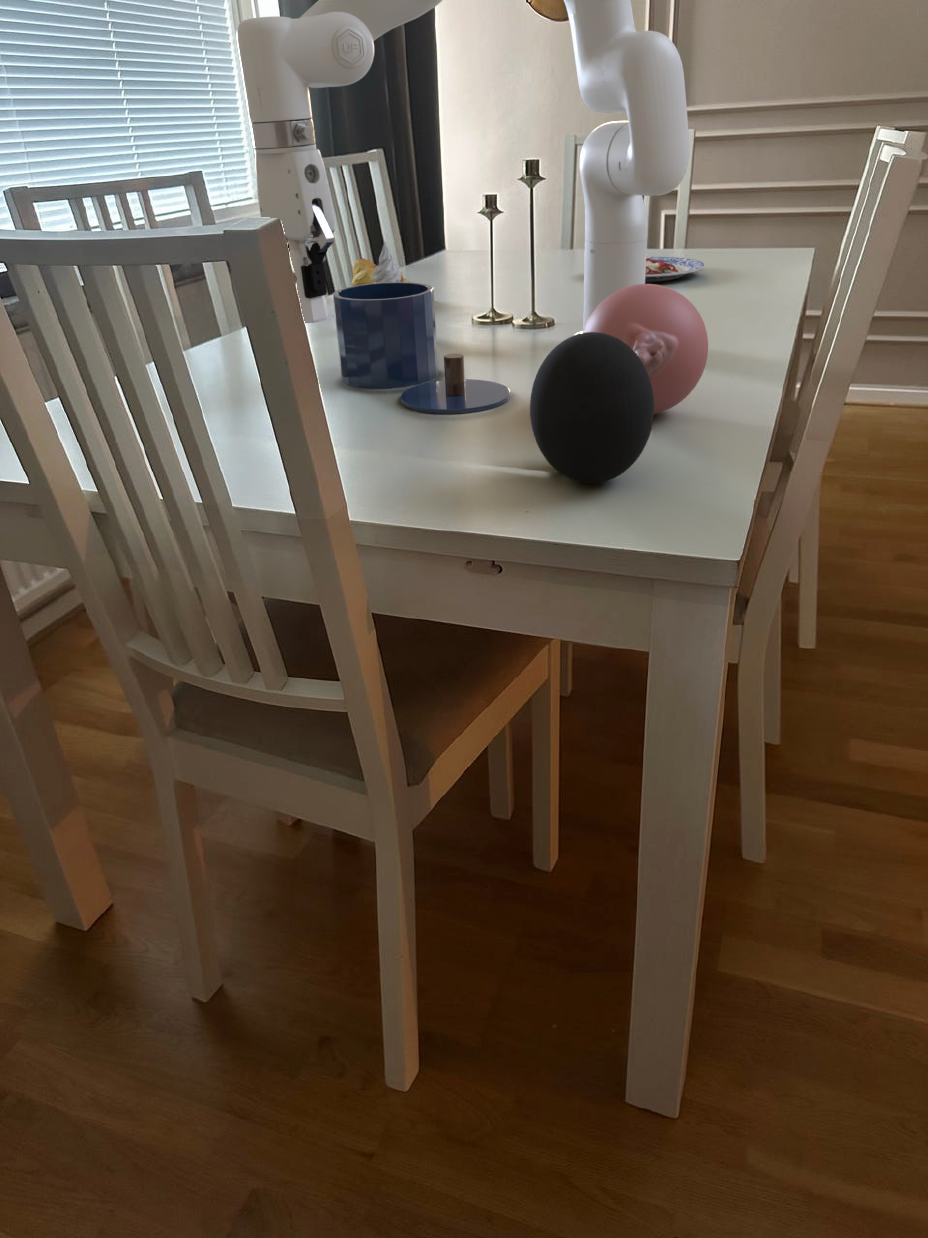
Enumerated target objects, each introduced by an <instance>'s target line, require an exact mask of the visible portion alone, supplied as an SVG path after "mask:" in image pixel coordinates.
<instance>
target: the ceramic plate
mask: <svg viewBox="0 0 928 1238" xmlns="http://www.w3.org/2000/svg"><path fill="white" fill-rule="evenodd" d="M705 268H706V263H705V262H703V261H701V260H697V259H693V258H687V257H677V256H657V255H656V256H646V273H645V283H656V282H667V281H673V280H676V279H680V278H682V277H684V276H686V275H687V274H692V273H696V272H699V271H702V270H703V269H705Z"/></svg>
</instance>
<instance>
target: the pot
mask: <svg viewBox="0 0 928 1238" xmlns="http://www.w3.org/2000/svg"><path fill="white" fill-rule="evenodd" d="M434 292H435V291H434V287H433V286H432V285H431V284H427V283H421V282H412V281H411V282H410V281H409V282H383V283H371V284H363V285H356V286H351V285H350V286H347V287H343V288H340V289H337V290H335V291H334V292H332V300H333V310H334V318H335V328H336V337H337V348H338V356H339V365H340V375H341V381H342V383H344V384H346V385H347V386H350V387H354V388H358V389H367V390H368V389H370V390H391V389H400V388H407V387H414V386H418V385H421V384H425V383H429V382H431V381H432V380H434V379H435V378H437V376H438V375H439V364H438V363H439V362H438V346H437V344H438V343H437V329H436V312H435V310H436V309H435V308H436V307H435V293H434Z"/></svg>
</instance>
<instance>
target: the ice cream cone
mask: <svg viewBox="0 0 928 1238" xmlns="http://www.w3.org/2000/svg"><path fill="white" fill-rule="evenodd" d="M400 270H401V269H400V267H399V266H398V265H397V263H395V258H394V256H393V255H392V254H391V251H390V249H389V247H388V245H387V242H386V240H384V241H383V245H382V248H381V252H380V255H379V257H378V264H377V267H376V268H375V272H374V273H373V277H374V278H375V280H374V283H383V282H400V280H401V271H402V270H401V271H400Z"/></svg>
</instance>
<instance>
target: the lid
mask: <svg viewBox="0 0 928 1238" xmlns="http://www.w3.org/2000/svg"><path fill="white" fill-rule="evenodd" d="M464 357H465V356H464V354H463V353H456V352H455V353H448V354H445V355H443V365H444V366H443V369H444V379H443V380H436V381H429V382H425V383H422V384H418V385H414V386H411V387H410V388H407V389H406V390H404V392H402V394H401V395H400V402H401V404H402V405H403V406H404V407H405V408H407V409H410V410H413V411H415V412H419V413H427V414H434V415H435V414H437V415H458V414H469V413H476V412H482V411H483V412H484V411H487V410H491V409H494V408H497V407H499V406H502V405H505V404H506V403H507V402H508V401H509V400H510V398H511V390H510V389H509V387H508V386H506V385H504V384H501V383H499V382H496V381H490V380H485V379H484V380H483V379H471V378H470V379H469V378H465V358H464Z"/></svg>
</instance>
